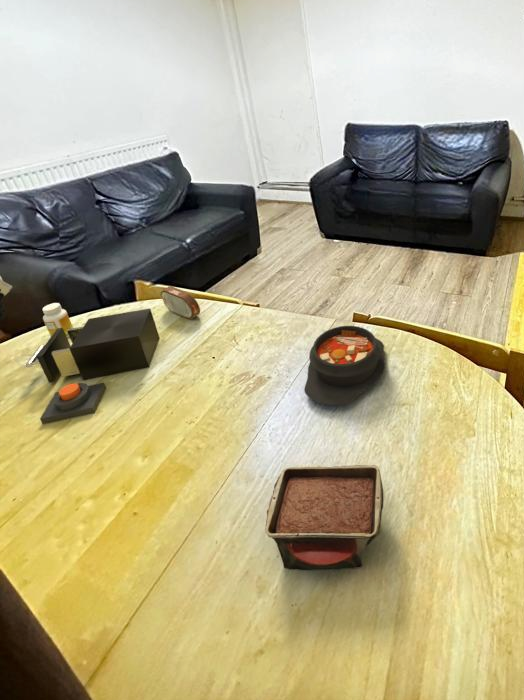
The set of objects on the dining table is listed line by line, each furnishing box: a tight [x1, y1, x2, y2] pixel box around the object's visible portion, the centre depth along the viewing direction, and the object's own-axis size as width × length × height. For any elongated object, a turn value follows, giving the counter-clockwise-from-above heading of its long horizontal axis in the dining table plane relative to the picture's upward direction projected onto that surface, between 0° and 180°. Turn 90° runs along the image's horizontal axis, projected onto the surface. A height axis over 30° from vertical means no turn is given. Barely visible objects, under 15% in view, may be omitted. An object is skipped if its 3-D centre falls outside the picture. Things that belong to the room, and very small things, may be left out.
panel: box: [39, 382, 107, 425], centre depth 93 cm, size 10×8×4 cm
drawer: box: [25, 325, 84, 384], centre depth 104 cm, size 18×12×8 cm, turn 106°
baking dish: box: [264, 464, 384, 571], centre depth 65 cm, size 14×18×10 cm
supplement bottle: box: [42, 302, 74, 339], centre depth 116 cm, size 5×5×10 cm
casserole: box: [303, 325, 386, 406], centre depth 98 cm, size 25×19×8 cm
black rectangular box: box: [69, 308, 160, 382], centre depth 106 cm, size 15×13×10 cm
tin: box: [160, 285, 201, 320], centre depth 124 cm, size 15×3×8 cm, turn 59°
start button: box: [58, 382, 81, 401], centre depth 92 cm, size 4×4×2 cm
